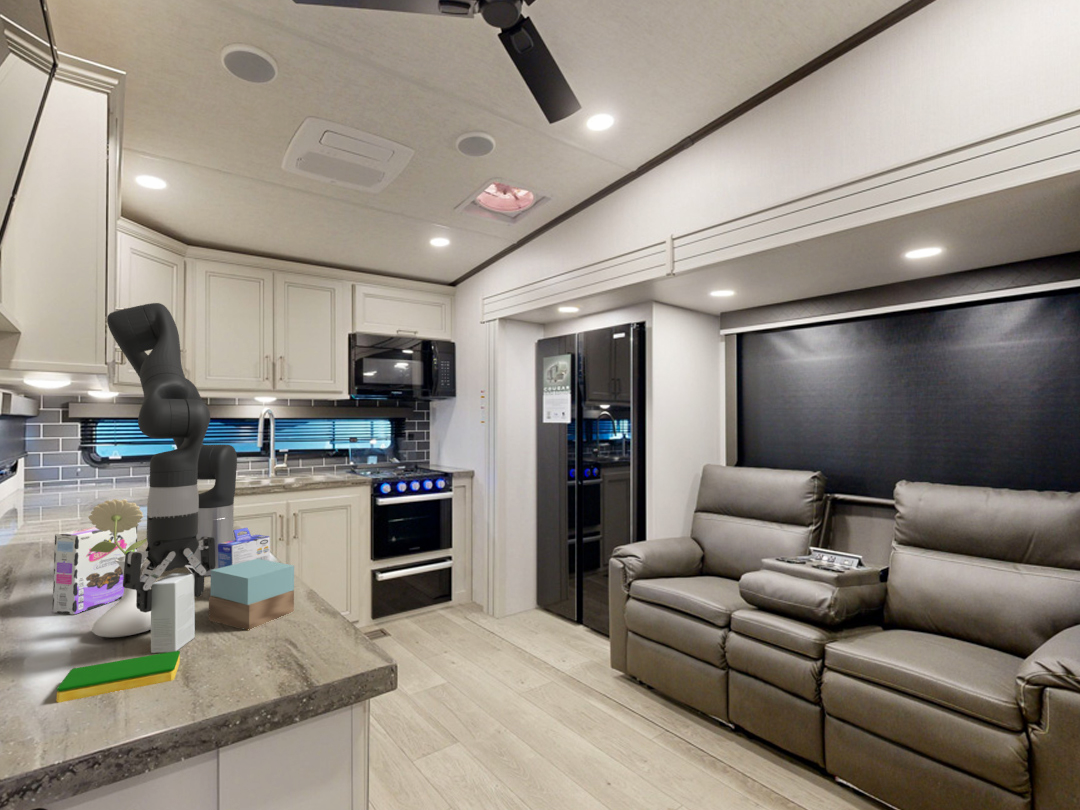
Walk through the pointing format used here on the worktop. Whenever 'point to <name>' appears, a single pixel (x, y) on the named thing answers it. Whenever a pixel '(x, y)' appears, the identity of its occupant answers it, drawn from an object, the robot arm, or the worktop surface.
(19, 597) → the worktop surface
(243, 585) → the tower top block
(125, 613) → the flower in vase
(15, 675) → the worktop surface
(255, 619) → the tower base block
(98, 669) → the dish sponge
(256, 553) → the ink cartridge box
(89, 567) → the candy box
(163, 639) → the skincare box
